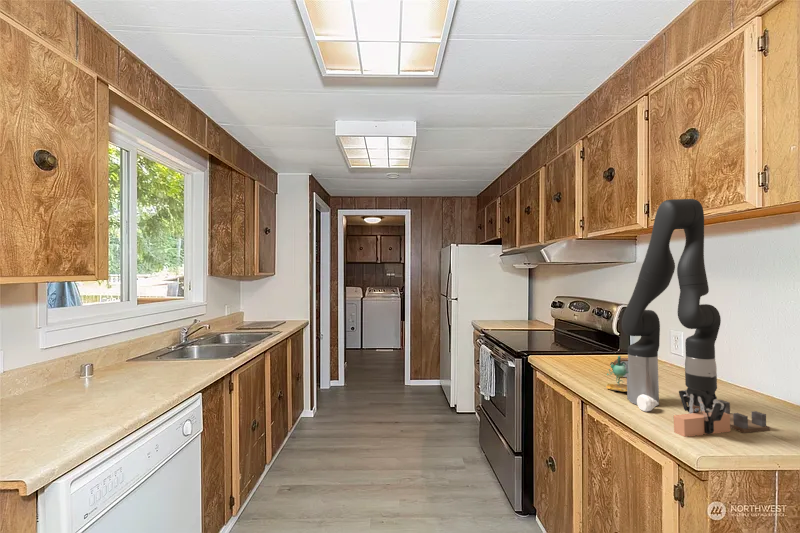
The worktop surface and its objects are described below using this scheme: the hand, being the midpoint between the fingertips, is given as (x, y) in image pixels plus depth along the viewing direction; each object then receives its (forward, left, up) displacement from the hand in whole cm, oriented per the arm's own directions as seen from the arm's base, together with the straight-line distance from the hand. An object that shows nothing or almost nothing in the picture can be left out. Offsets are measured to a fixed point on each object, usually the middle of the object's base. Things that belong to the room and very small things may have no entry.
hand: (702, 430), depth 120 cm
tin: (-56, +23, -1) cm, 61 cm away
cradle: (-4, +15, 0) cm, 16 cm away
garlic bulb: (-19, -1, -1) cm, 19 cm away
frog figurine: (-41, +5, -1) cm, 41 cm away
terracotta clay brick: (0, 0, 0) cm, 0 cm away
